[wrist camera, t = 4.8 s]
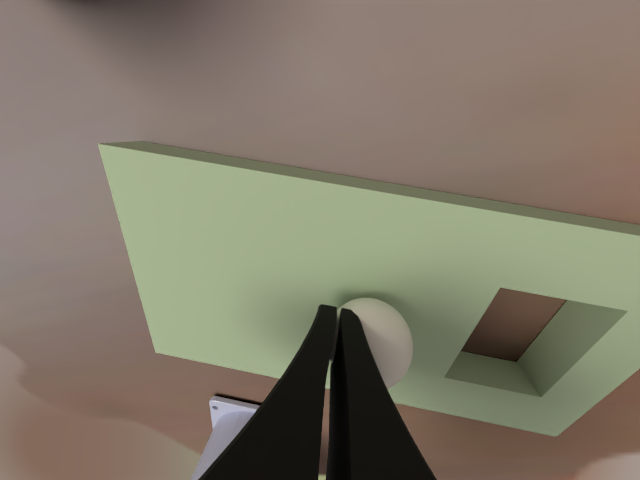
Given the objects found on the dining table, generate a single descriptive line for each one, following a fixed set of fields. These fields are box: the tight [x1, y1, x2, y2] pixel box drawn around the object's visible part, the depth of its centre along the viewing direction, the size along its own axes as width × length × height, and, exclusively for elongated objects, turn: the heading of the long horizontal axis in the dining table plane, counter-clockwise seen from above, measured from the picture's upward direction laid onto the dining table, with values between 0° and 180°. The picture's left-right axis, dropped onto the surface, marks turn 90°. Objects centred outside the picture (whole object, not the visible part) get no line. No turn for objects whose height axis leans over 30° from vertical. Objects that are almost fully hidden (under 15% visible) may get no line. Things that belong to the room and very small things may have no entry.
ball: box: [330, 298, 413, 388], centre depth 9 cm, size 3×3×3 cm
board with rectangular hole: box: [98, 141, 640, 437], centre depth 9 cm, size 12×24×7 cm, turn 82°
